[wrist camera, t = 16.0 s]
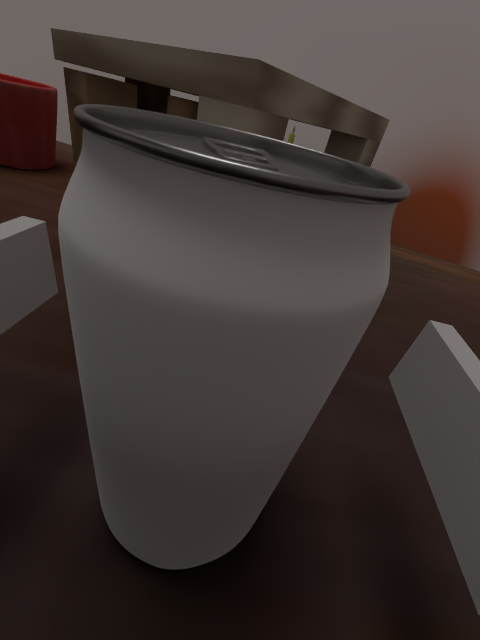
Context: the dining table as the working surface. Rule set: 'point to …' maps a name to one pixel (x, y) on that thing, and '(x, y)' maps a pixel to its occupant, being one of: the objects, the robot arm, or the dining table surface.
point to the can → (210, 314)
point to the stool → (228, 90)
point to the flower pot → (27, 123)
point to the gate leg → (110, 100)
